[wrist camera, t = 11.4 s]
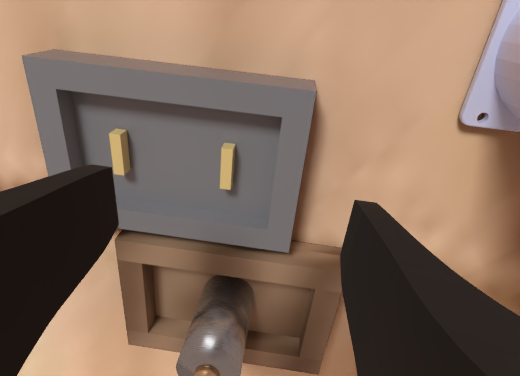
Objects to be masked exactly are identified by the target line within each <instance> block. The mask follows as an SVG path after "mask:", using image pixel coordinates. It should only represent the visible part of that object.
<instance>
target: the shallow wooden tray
mask: <svg viewBox="0 0 520 376" xmlns="http://www.w3.org/2000/svg"><path fill="white" fill-rule="evenodd" d="M115 247H116V254H117V261H118V269H119V276H120V284H121V291H122V299H123V306H124V314H125V321H126V329H127V336H128V344H129V345H136V346H142V347H148V348H154V349H161V350H167V351H173V352H179V353H181V350H182V347H183V345H184V342H185V339H186V336H187V333H188V331H189V328H190V325H191V322H192V320H193V317H194V314H195V311H196V308H197V306H198V303H199V300H200V297H201V295H202V292H203V289H204V286H205V284H206V282H207V281H208V280H209V279H210V278H212V277H214V276H216V275H223V276H230V277H237V278H242V279H243V280H245V281H246V282H247V283H248V284H249V285H250V286H251V288H252V290H253V292H254V300H253V306H252V311H251V317H250V323H249V328H248V334H247V340H246V345H245V351H244V357H243V362H242V363H248V364H255V365H261V366H267V367H273V368H280V369H286V370H292V371H298V372H305V373H311V374H317V375H318V373H319V369H320V366H321V362H322V359H323V355H324V352H325V348H326V345H327V341H328V338H329V334H330V331H331V327H332V324H333V320H334V317H335V313H336V310H337V306H338V303H339V299H340V296H341V292H342V286H341V268H340V254H341V250H342V248H338V247H331V246H324V245H317V244H310V243H303V242H296V241H291V242H290V248H289V253H286V252H279V251H272V250H265V249H258V248H251V247H244V246H237V245H230V244H223V243H216V242H209V241H203V240H196V239H189V238H182V237H175V236H168V235H161V234H154V233H147V232H140V231H133V230H126V229H123V230H122V231H121V232H120V233H119V235H118V236H117V237H116V238H115Z"/></svg>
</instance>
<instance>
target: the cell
mask: <svg viewBox="0 0 520 376" xmlns="http://www.w3.org/2000/svg"><path fill="white" fill-rule="evenodd" d="M253 300H254V292H253V290H252V288H251V286H250V285H249V284H248V283H247V282H246V281H245V280H243V279H242V278H237V277H230V276H223V275H216V276H214V277H212V278H210V279H209V280H208V281H207V282H206V284H205V286H204V289H203V292H202V295H201V297H200V300H199V303H198V306H197V308H196V311H195V314H194V317H193V320H192V322H191V325H190V328H189V331H188V333H187V336H186V339H185V342H184V345H183V347H182V350H181V353H180V356H179V358H178V361H177V364H176V370H177V373H178V375H179V376H240V374H241V368H242V362H243V357H244V351H245V345H246V340H247V334H248V328H249V323H250V317H251V311H252V306H253Z"/></svg>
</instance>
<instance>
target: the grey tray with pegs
mask: <svg viewBox="0 0 520 376" xmlns="http://www.w3.org/2000/svg"><path fill="white" fill-rule="evenodd" d="M22 59H23V64H24V68H25V73H26V77H27V82H28V86H29V91H30V95H31V100H32V104H33V108H34V113H35V117H36V122H37V126H38V131H39V135H40V140H41V144H42V149H43V153H44V158H45V162H46V167H47V171H48V175H49V176H52V175H55V174H58V173H61V172H65V171H68V170H71V169H75V168H78V167H82V166H87V165H92V164H93V165H100V166H107V167H112V171H113V179H114V187H115V195H116V204H117V212H118V220H119V225H118V227H117V228H119V229H126V230H133V231H140V232H147V233H154V234H161V235H168V236H175V237H182V238H189V239H196V240H203V241H209V242H216V243H223V244H230V245H237V246H244V247H251V248H258V249H265V250H272V251H279V252H286V253H289V248H290V242H291V236H292V230H293V225H294V219H295V213H296V207H297V201H298V196H299V190H300V184H301V178H302V172H303V167H304V161H305V155H306V149H307V143H308V138H309V132H310V126H311V120H312V114H313V109H314V103H315V97H316V85H315V81H313V80H305V79H296V78H288V77H280V76H271V75H263V74H255V73H246V72H238V71H229V70H221V69H213V68H204V67H196V66H188V65H179V64H171V63H163V62H154V61H146V60H137V59H129V58H121V57H112V56H104V55H96V54H87V53H79V52H71V51H62V50H54V49H53V50H48V51H43V52H38V53H32V54H27V55H22Z"/></svg>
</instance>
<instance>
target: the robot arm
mask: <svg viewBox="0 0 520 376" xmlns="http://www.w3.org/2000/svg"><path fill="white" fill-rule="evenodd" d="M481 113H485V116H484V118H483V119H481V120H478V121H477V117H478V116H479V114H481ZM459 119H460V121H461V122H462V123H463V124H465V125H467V126H474V127H482V128H490V129H498V130H506V131H514V132H520V0H503V1H502V4H501V7H500V9H499V12H498V14H497V17H496V20H495V22H494V25H493V27H492V30H491V33H490V35H489V38H488V41H487V43H486V46H485V48H484V51H483V54H482V56H481V59H480V61H479V64H478V67H477V69H476V72H475V75H474V77H473V80H472V82H471V85H470V88H469V90H468V93H467V96H466V98H465V101H464V103H463V106H462V109H461V111H460V114H459ZM118 225H119V220H118V212H117V204H116V195H115V187H114V179H113V171H112V167H107V166H100V165H93V164H92V165H87V166H82V167H78V168H75V169H71V170H68V171H65V172H61V173H58V174H55V175H52V176H49V177H46V178H43V179H40V180H36V181H33V182H30V183H27V184H24V185H21V186H18V187H15V188H11V189H8V190H4V191H1V192H0V376H17V374H18V373H19V371H20V369H21V368H22V366H23V364H24V362H25V361H26V359H27V357H28V356H29V354H30V353H31V351H32V349H33V348H34V346H35V345H36V343H37V341H38V340H39V338H40V337H41V335H42V333H43V332H44V330H45V329H46V327H47V325H48V324H49V323H50V321H51V320H52V318H53V317H54V316H55V314H56V313H57V311H58V310H59V309H60V307H61V306H62V305H63V304H64V302H65V301H66V300H67V298H68V297H69V296H70V295H71V293H72V292H73V291H74V289H75V288H76V287H77V286H78V284H79V283H80V282H81V280H82V279H83V278H84V277H85V275H86V274H87V273H88V271H89V270H90V269H91V268H92V266H93V265H94V264H95V262H96V261H97V260H98V258H99V257H100V256H101V254H102V253H103V252H104V250H105V248H106V247H107V245H108V243H109V242H110V240H111V238H112V236H113V234H114V232H115V231H116V229H117V227H118ZM340 268H341V286H342V292H343V297H344V303H345V308H346V313H347V319H348V324H349V329H350V334H351V340H352V345H353V350H354V355H355V362H356V369H357V376H520V316H518V315H517V314H515V313H514V312H512V311H510V310H509V309H507V308H506V307H504V306H502V305H501V304H499V303H498V302H496V301H495V300H493V299H492V298H490V297H489V296H487V295H486V294H485V293H483V292H482V291H480V290H479V289H477V288H476V287H475V286H473V285H472V284H470V283H469V282H468V281H466V280H465V279H463V278H462V277H461V276H459V275H458V274H457V273H455V272H454V271H453V270H452V269H450V268H449V267H448V266H447V265H446V264H444V263H443V262H442V261H441V260H439V259H438V258H437V257H436V256H435V255H433V254H432V253H431V252H430V251H429V250H428V249H426V248H425V247H424V246H423V245H422V244H421V243H420V242H418V241H417V240H416V239H415V238H414V237H413V236H412V235H411V234H410V233H409V232H408V231H407V230H405V229H404V228H403V227H402V226H401V225H400V224H399V223H398V222H397V221H396V220H395V219H394V218H393V217H392V216H391V215H390V214H389V213H387V212H386V211H385V210H384V209H383V208H382V207H381V206H380V205H378V204H377V203H374V202H366V201H359V200H355V201H354V205H353V209H352V212H351V216H350V220H349V224H348V227H347V231H346V235H345V239H344V242H343V246H342V250H341V254H340Z"/></svg>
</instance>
